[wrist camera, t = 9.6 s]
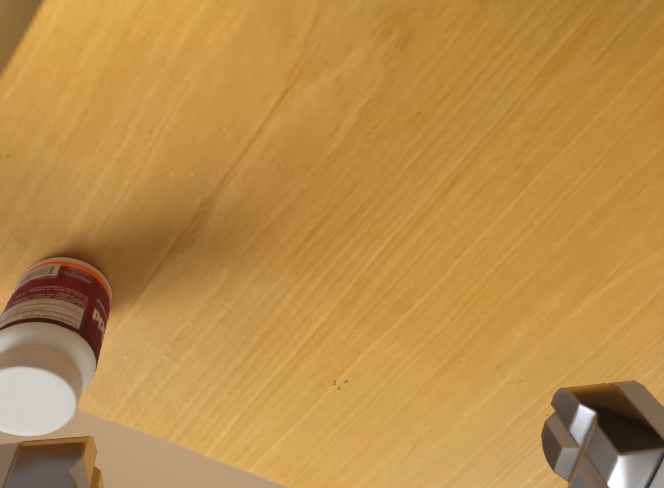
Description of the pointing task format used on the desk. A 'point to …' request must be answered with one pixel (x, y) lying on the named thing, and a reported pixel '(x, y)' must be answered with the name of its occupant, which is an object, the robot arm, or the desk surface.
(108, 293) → the pill bottle
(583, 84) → the desk surface
